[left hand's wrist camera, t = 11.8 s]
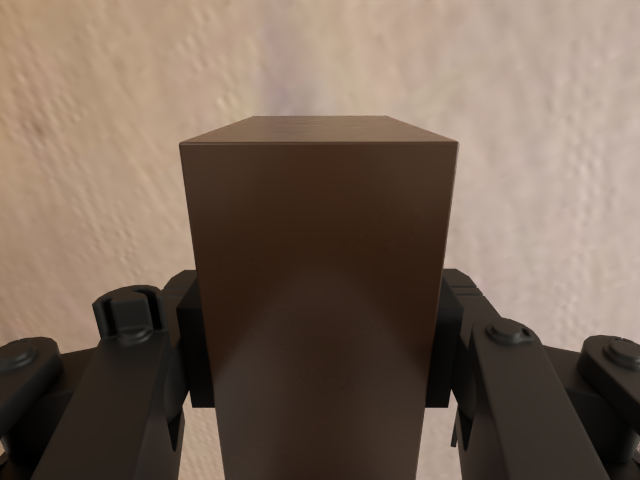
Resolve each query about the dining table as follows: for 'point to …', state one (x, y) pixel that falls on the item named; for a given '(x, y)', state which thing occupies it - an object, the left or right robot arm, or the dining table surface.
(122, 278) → the dining table surface
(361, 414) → the plank
